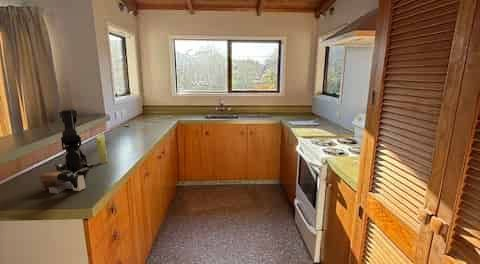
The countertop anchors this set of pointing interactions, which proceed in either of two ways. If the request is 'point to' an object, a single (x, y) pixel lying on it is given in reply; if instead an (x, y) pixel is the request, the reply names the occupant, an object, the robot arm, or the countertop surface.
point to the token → (57, 188)
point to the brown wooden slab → (50, 179)
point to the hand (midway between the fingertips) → (79, 186)
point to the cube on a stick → (80, 184)
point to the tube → (101, 148)
